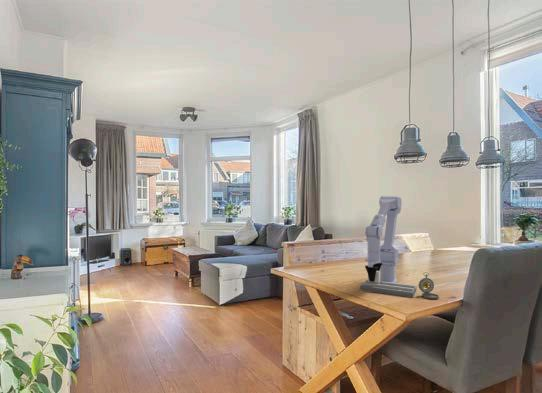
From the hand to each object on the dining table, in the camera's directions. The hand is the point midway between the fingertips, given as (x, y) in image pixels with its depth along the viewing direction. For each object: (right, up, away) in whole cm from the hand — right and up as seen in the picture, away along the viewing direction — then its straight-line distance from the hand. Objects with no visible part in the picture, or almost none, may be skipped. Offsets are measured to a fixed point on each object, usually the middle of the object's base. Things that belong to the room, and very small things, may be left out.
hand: (373, 279), depth 161 cm
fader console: (+6, -4, -3) cm, 8 cm away
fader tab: (0, -2, 0) cm, 2 cm away
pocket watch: (+20, -4, -13) cm, 24 cm away
